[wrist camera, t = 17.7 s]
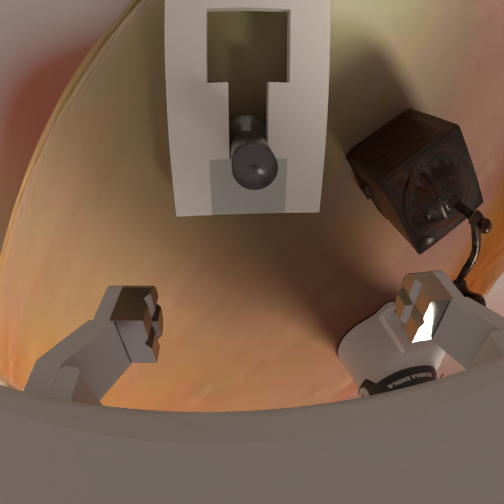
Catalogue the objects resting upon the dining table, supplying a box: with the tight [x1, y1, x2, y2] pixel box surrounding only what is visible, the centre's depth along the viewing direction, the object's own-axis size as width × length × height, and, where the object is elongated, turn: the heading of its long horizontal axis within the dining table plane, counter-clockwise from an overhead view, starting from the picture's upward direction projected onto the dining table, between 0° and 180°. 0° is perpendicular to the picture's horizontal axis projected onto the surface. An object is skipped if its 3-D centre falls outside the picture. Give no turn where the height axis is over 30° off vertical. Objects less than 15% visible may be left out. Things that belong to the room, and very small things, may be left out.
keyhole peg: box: [229, 114, 278, 190], centre depth 26 cm, size 5×5×12 cm
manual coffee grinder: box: [346, 109, 492, 307], centre depth 27 cm, size 16×11×18 cm
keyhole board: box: [165, 0, 330, 217], centre depth 26 cm, size 14×22×5 cm, turn 0°
